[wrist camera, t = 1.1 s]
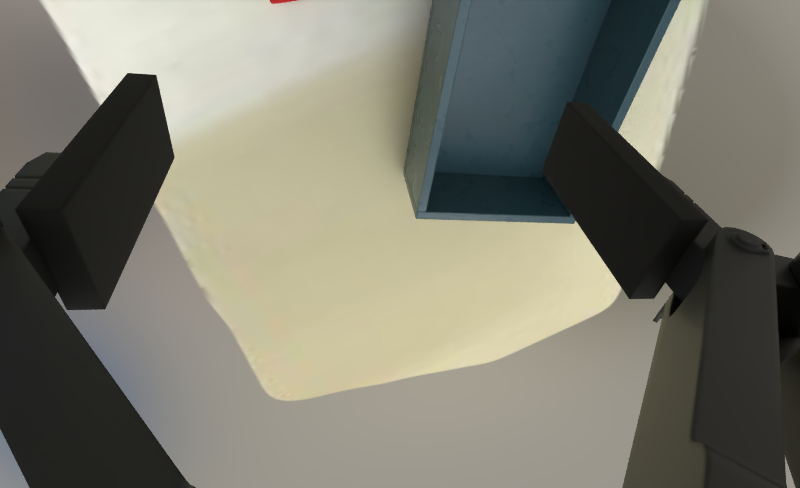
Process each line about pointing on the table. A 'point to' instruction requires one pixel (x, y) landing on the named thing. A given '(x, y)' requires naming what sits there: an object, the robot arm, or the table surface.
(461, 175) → the tote
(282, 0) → the toy figure
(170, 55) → the table surface
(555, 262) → the table surface
